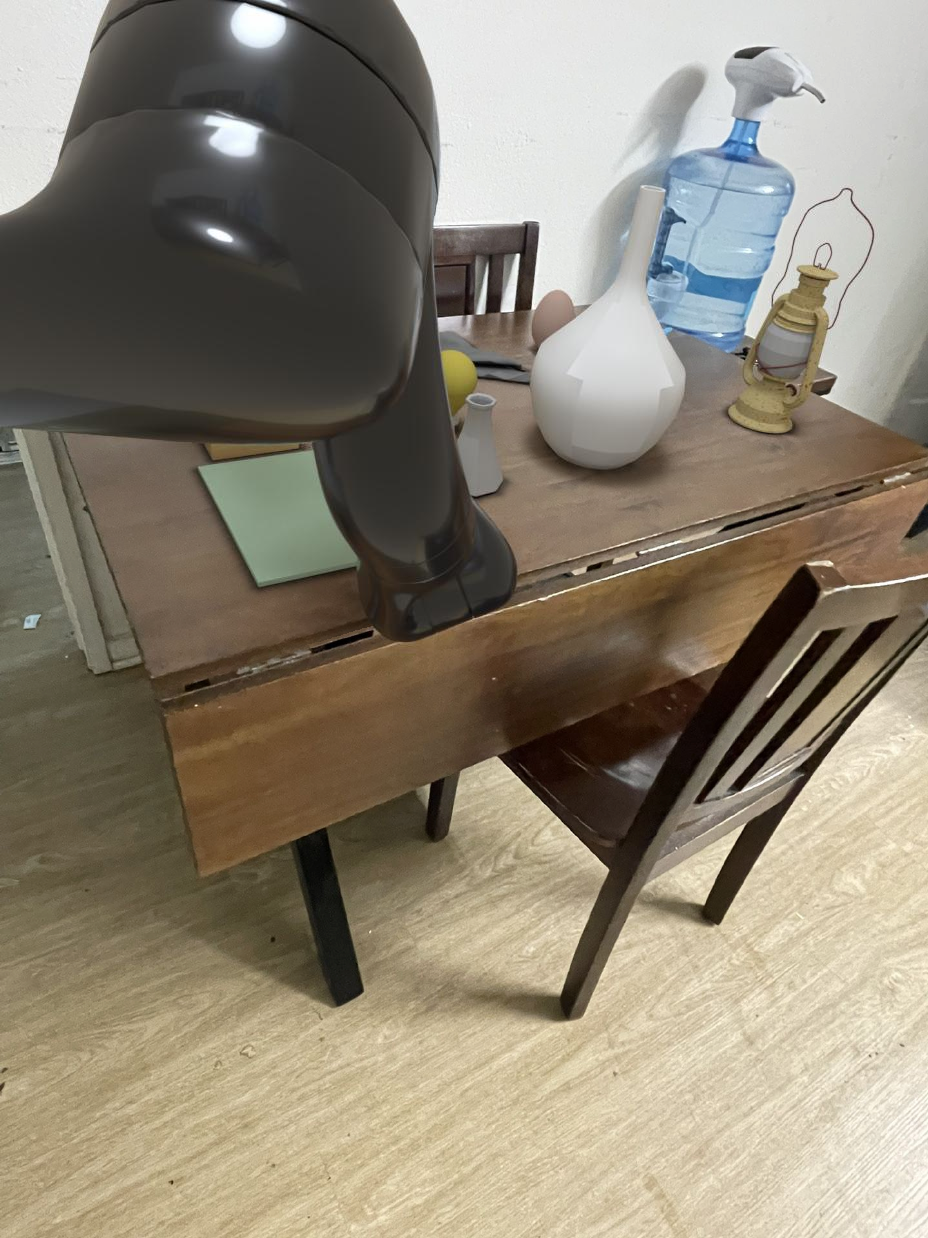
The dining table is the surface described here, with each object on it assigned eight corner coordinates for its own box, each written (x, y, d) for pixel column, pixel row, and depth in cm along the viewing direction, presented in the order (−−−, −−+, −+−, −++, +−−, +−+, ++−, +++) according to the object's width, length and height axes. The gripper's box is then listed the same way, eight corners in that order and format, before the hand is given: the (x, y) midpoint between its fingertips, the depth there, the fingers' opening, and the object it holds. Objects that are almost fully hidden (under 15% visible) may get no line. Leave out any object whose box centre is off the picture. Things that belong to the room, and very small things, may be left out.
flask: (477, 504, 83) (488, 420, 77) (426, 479, 86) (434, 396, 80) (513, 482, 88) (527, 401, 82) (464, 459, 91) (474, 379, 85)
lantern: (815, 433, 108) (919, 200, 89) (768, 442, 104) (866, 200, 85) (754, 398, 116) (837, 177, 97) (708, 406, 112) (785, 176, 92)
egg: (521, 344, 123) (531, 282, 116) (560, 345, 125) (571, 283, 118) (535, 361, 118) (546, 297, 112) (575, 361, 120) (588, 298, 113)
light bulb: (415, 416, 98) (421, 340, 92) (465, 417, 100) (474, 342, 93) (423, 440, 93) (429, 361, 87) (475, 441, 95) (485, 363, 88)
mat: (399, 557, 74) (399, 551, 74) (258, 587, 68) (258, 582, 68) (320, 453, 88) (320, 448, 88) (198, 471, 82) (197, 466, 82)
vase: (523, 480, 89) (574, 196, 69) (516, 412, 103) (557, 160, 83) (675, 495, 90) (766, 220, 71) (647, 426, 104) (717, 181, 85)
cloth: (370, 337, 118) (371, 322, 116) (437, 324, 125) (438, 310, 124) (482, 401, 104) (485, 386, 103) (550, 382, 112) (553, 367, 110)
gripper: (461, 329, 54) (386, 156, 58) (265, 345, 48) (195, 150, 51) (430, 394, 60) (365, 235, 64) (254, 415, 54) (193, 237, 58)
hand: (289, 197), depth 58 cm, fingers open, 8 cm apart
